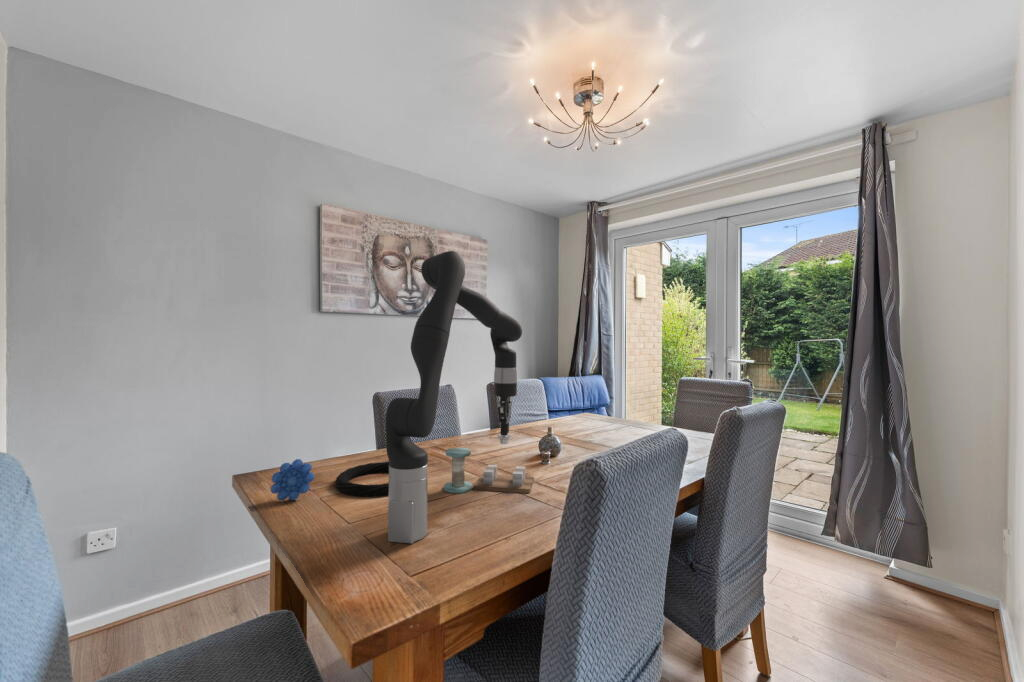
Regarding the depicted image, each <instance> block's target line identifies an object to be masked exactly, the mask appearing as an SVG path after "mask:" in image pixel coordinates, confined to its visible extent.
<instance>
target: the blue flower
mask: <svg viewBox="0 0 1024 682" xmlns="http://www.w3.org/2000/svg"><path fill="white" fill-rule="evenodd" d="M312 467H313V466H312V464H311V463H310V462H305V463H304V462H303V461H302V459H301V458H297V459H295V460H294V461H292V462H291V463H290V462H284V463H282V464H281V465H280V467H279V471H276V472H274V473H273V474H272V476H271V482H273V484H272V485H271V487H270V492H271V494H274V495H275V494H276V495H277V496H276V499H277V500H278V501H284V500H286V499H287V498H288V499H289V500H290V501H296V500H297V499H298V498H299V497H300V494H306V493H307V492H309V490H310V489H311V488H310V486H311V485H310V483H312V482H313V481H314V480H315V477H316V476H315V473H314V472H311V470H312Z"/></svg>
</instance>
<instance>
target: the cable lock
mask: <svg viewBox="0 0 1024 682" xmlns="http://www.w3.org/2000/svg"><path fill="white" fill-rule="evenodd" d="M379 473H389V461H383V462H373V463H372V462H370V463H366V464H359V465H357V466H356V465H355V466H353V467H350V468H347V469H346V470H344V471H342V472H340V473H339V475H338V476H337V477H335V478H336V479H335V481H334V484H335V488H336V489H337V490H338V491H339V492H341V493H343V494H346V495H350V496H354V497H363V498H364V497H367V498H370V497H374V498H375V497H381V496H389V482H387V483H386V482H385V483H381V484H360V483H354V482H351V481H350V480H352V479H354V478H357V477H361V476H365V475H369V474H379Z"/></svg>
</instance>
